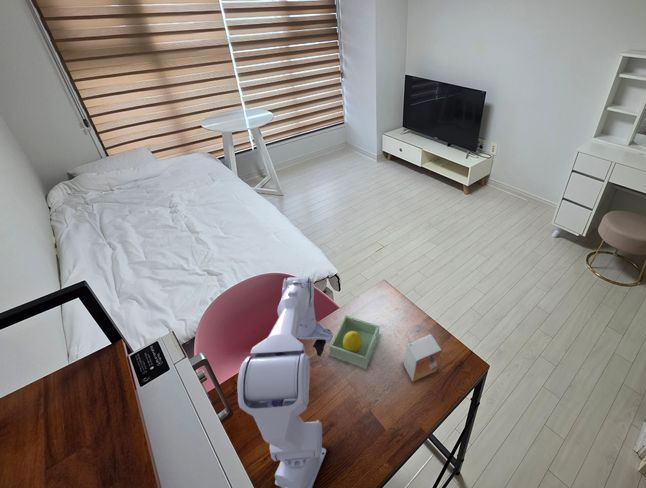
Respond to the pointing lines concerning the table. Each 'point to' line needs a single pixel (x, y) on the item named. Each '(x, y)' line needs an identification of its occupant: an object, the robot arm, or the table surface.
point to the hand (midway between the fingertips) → (307, 347)
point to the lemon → (352, 341)
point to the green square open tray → (368, 337)
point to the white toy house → (422, 357)
